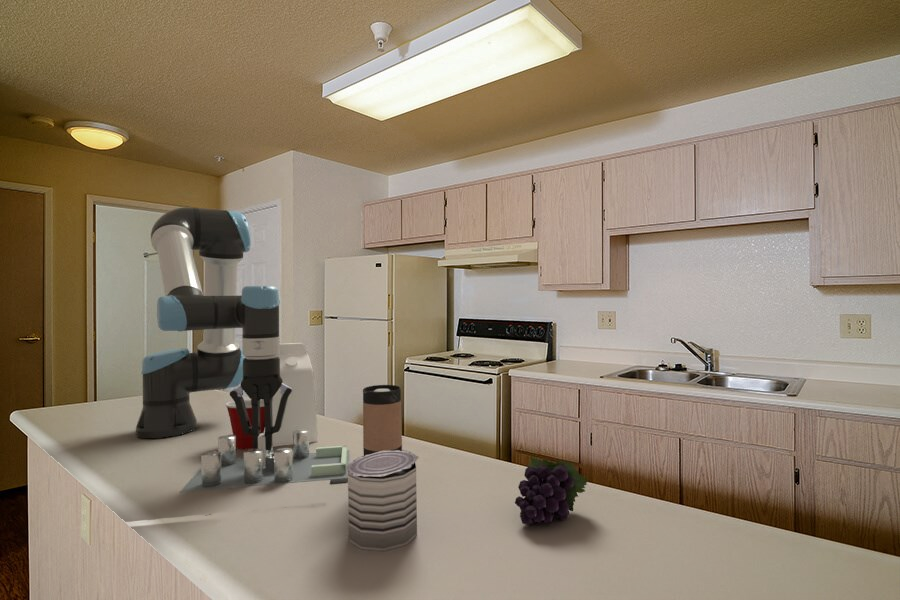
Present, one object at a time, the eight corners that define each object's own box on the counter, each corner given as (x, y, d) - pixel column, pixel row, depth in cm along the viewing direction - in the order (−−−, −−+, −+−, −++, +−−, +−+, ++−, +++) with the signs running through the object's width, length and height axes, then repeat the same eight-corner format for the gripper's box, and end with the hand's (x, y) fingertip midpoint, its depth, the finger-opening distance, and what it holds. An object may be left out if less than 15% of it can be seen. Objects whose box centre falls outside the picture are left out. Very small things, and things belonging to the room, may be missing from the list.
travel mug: (408, 483, 97) (407, 385, 97) (392, 498, 90) (390, 393, 90) (375, 479, 100) (374, 383, 100) (356, 493, 93) (355, 390, 92)
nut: (268, 465, 107) (268, 451, 107) (289, 463, 107) (289, 450, 107) (264, 473, 101) (264, 459, 101) (286, 471, 102) (286, 457, 102)
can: (408, 555, 70) (407, 474, 70) (335, 548, 72) (334, 470, 72) (425, 519, 82) (424, 449, 82) (362, 514, 84) (361, 446, 84)
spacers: (222, 459, 110) (222, 434, 110) (310, 453, 114) (309, 428, 114) (197, 490, 93) (197, 459, 93) (301, 481, 97) (301, 452, 97)
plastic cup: (281, 444, 124) (280, 398, 124) (247, 457, 114) (246, 407, 114) (251, 439, 128) (250, 395, 128) (216, 452, 119) (215, 404, 118)
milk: (314, 432, 135) (313, 340, 134) (317, 444, 124) (316, 344, 123) (269, 437, 130) (267, 342, 130) (268, 450, 120) (266, 346, 119)
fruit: (512, 541, 80) (548, 490, 91) (569, 551, 73) (601, 495, 85) (494, 486, 79) (533, 441, 90) (551, 491, 72) (586, 442, 84)
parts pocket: (316, 456, 112) (316, 447, 112) (346, 453, 114) (346, 445, 114) (311, 476, 99) (311, 466, 99) (345, 473, 101) (345, 464, 101)
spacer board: (207, 464, 110) (207, 460, 110) (349, 453, 116) (349, 450, 116) (179, 496, 92) (179, 492, 92) (347, 481, 98) (347, 477, 98)
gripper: (224, 360, 99) (226, 473, 99) (290, 357, 101) (291, 468, 101) (233, 355, 106) (235, 461, 106) (294, 353, 108) (296, 457, 109)
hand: (263, 464), depth 104 cm, fingers closed
